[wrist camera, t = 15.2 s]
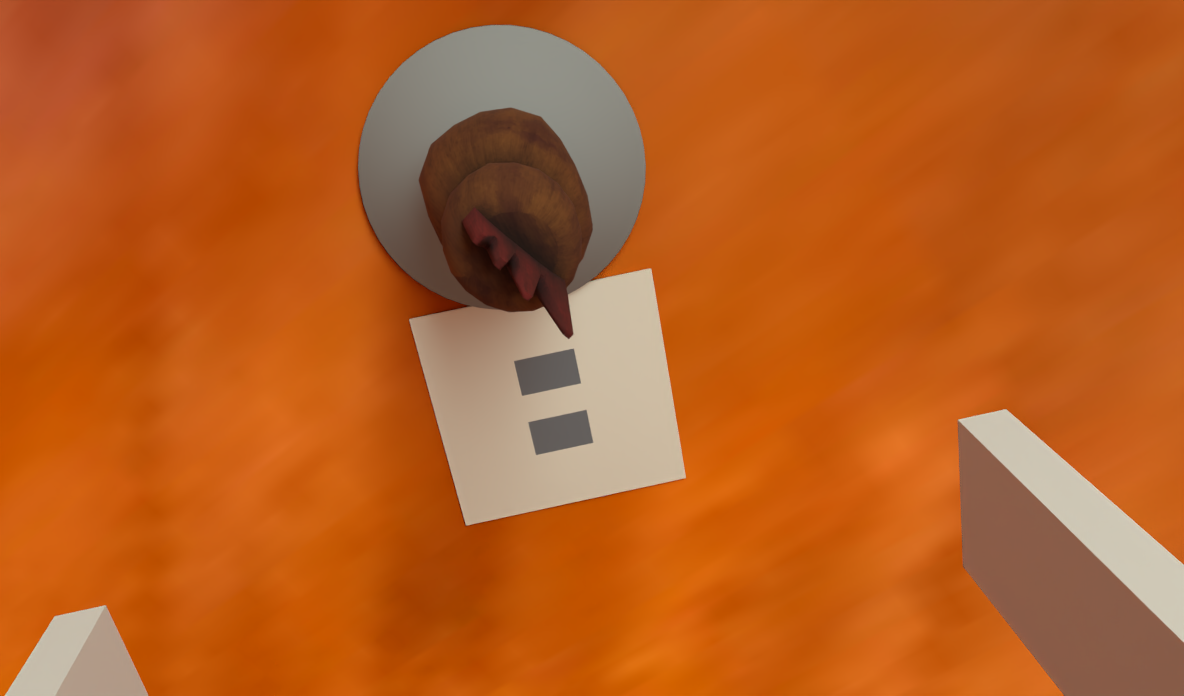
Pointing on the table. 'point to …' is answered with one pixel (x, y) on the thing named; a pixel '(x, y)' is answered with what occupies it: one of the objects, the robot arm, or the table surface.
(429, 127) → the coaster
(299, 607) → the table surface
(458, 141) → the wooden figurine
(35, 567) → the table surface
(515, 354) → the white card
